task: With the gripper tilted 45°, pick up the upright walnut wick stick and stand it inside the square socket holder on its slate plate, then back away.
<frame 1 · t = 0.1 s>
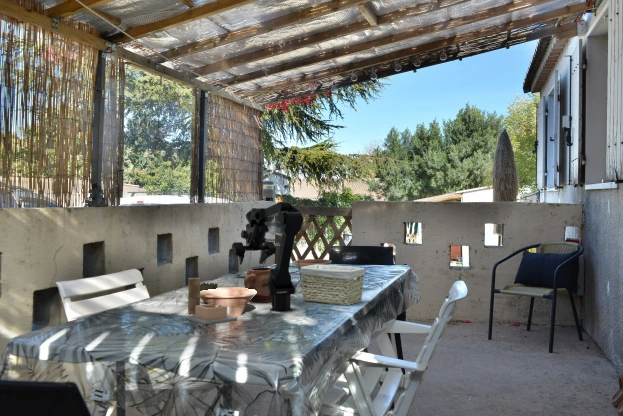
hand: (250, 263, 260), 15 cm above the table, tool tilted 35°, fingers open, 9 cm apart
decorative planter: (259, 302, 253), on the table
architectural model: (247, 290, 287), on the table
square socket holder: (211, 319, 213), on the table
walnut wick stick: (193, 313, 224), on the table
dark bronze rounded piece: (208, 303, 248), on the table
storage basket: (332, 302, 256), on the table
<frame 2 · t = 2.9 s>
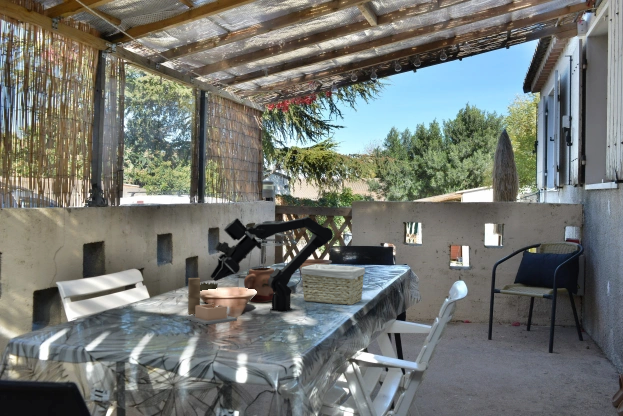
hand: (212, 278, 226), 13 cm above the table, tool tilted 45°, fingers open, 9 cm apart
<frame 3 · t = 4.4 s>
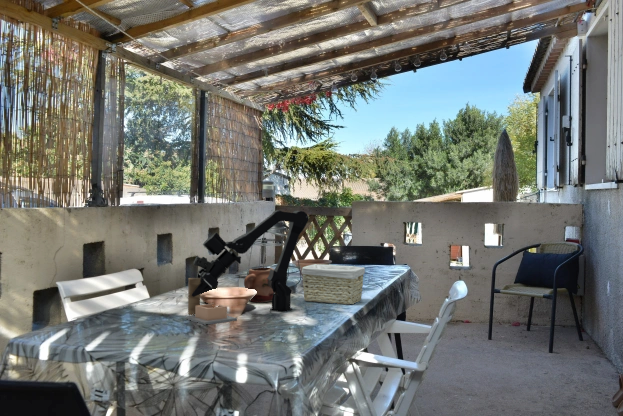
hand: (191, 294, 223), 7 cm above the table, tool tilted 45°, fingers open, 9 cm apart
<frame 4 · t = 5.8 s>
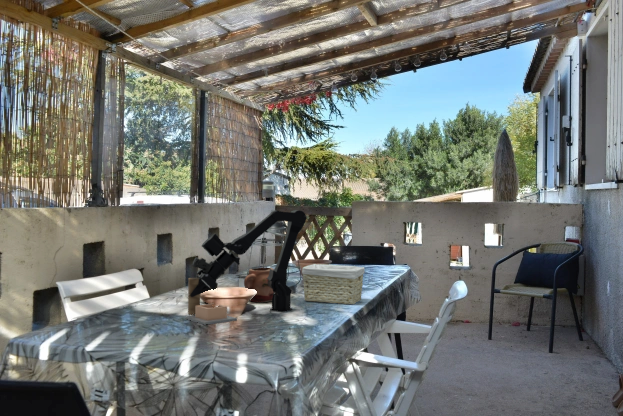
hand: (190, 295, 223), 7 cm above the table, tool tilted 45°, fingers closed on walnut wick stick, 4 cm apart
walnut wick stick: (193, 313, 224), on the table, touching gripper
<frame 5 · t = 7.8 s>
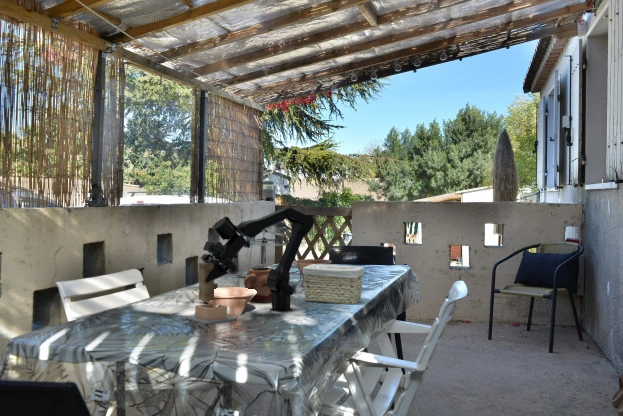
hand: (203, 281, 214), 13 cm above the table, tool tilted 45°, fingers closed on walnut wick stick, 4 cm apart
walnut wick stick: (206, 299, 215), point 7 cm above the table, touching gripper
when the fingers open (9 cm above the table, at t = 9.9 s): walnut wick stick stays where it is, resting on square socket holder.
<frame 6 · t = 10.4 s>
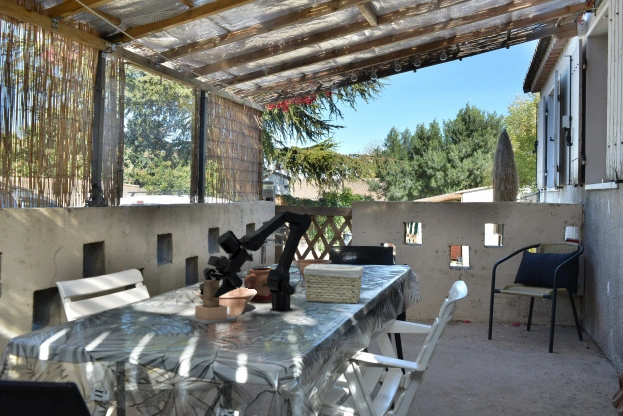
hand: (207, 295, 212), 9 cm above the table, tool tilted 45°, fingers open, 9 cm apart
walnut wick stick: (211, 317, 213), point 1 cm above the table, touching square socket holder
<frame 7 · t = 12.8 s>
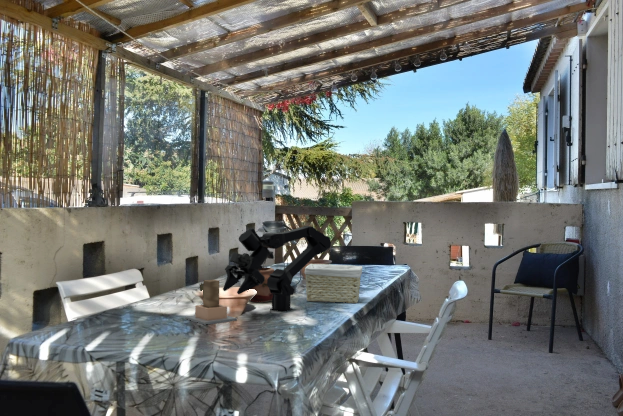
hand: (230, 291, 218), 9 cm above the table, tool tilted 45°, fingers open, 9 cm apart
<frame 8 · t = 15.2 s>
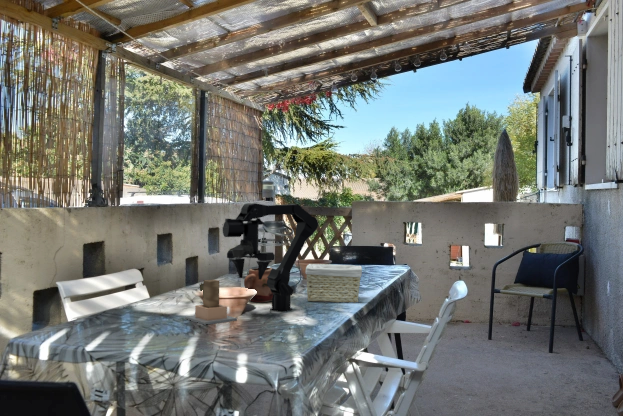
hand: (250, 278, 226), 13 cm above the table, tool pointing down, fingers open, 9 cm apart
at the end: walnut wick stick 0.0 cm off-centre on the square socket holder, point 0.8 cm above the square socket holder's base; walnut wick stick tilted 0°; the gripper is holding nothing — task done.
